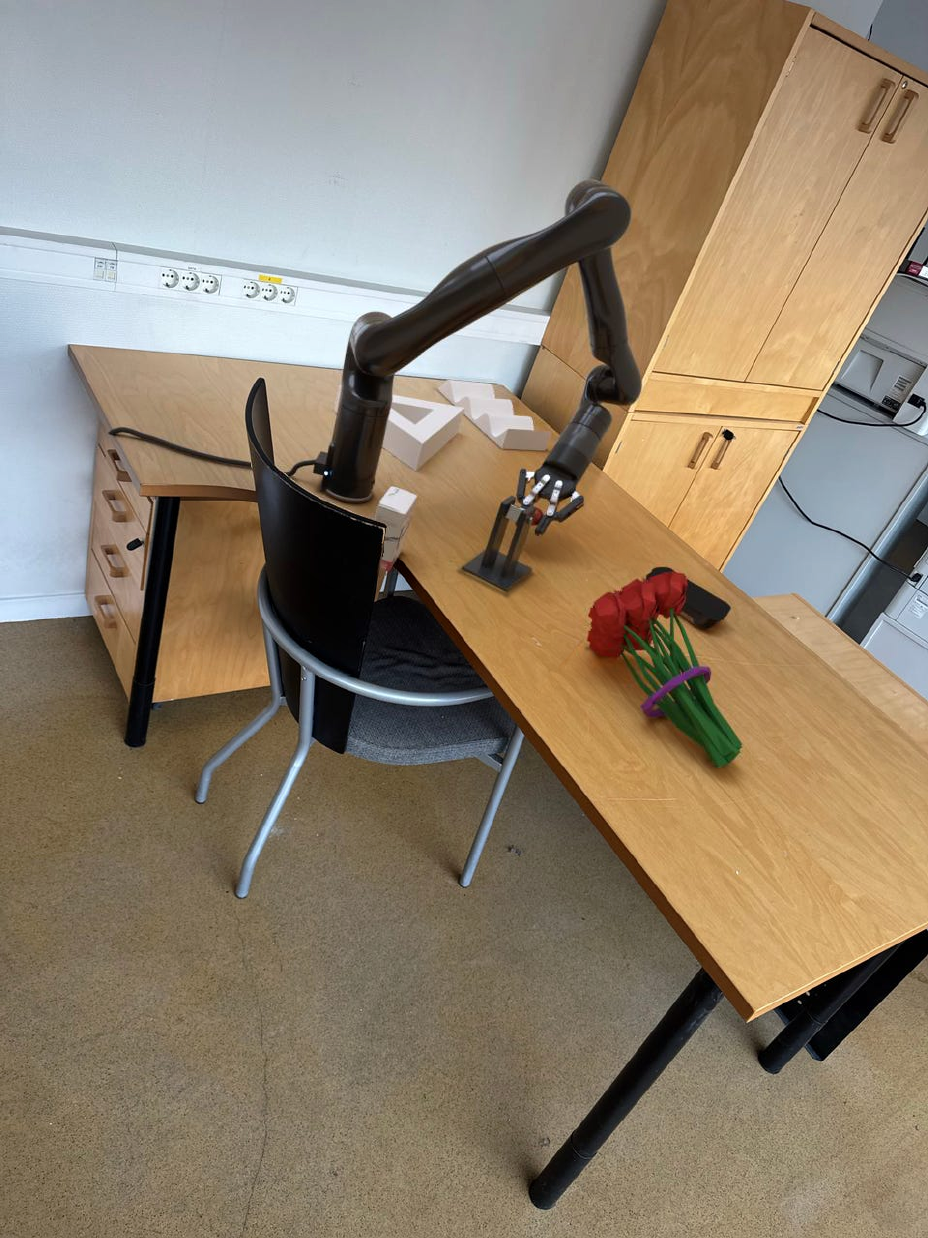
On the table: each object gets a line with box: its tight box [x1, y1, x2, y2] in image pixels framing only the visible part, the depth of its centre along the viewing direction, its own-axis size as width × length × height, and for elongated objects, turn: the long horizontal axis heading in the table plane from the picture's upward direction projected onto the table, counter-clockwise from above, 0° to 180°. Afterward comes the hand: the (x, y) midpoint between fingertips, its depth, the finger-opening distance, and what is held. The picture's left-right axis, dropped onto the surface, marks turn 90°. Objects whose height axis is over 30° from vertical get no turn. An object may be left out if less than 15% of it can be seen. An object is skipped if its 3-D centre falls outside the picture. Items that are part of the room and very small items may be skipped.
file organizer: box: [437, 379, 553, 452], centre depth 215 cm, size 13×35×5 cm, turn 28°
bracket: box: [461, 495, 538, 593], centre depth 146 cm, size 11×9×14 cm
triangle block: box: [333, 384, 465, 472], centre depth 192 cm, size 30×26×6 cm
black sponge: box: [645, 566, 732, 630], centre depth 157 cm, size 16×8×4 cm, turn 46°
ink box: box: [373, 485, 418, 573], centre depth 140 cm, size 9×5×12 cm, turn 168°
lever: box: [506, 504, 544, 527], centre depth 149 cm, size 15×3×3 cm, turn 151°
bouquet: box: [586, 570, 743, 769], centre depth 125 cm, size 20×16×30 cm
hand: (527, 529), depth 154 cm, fingers closed on lever, 3 cm apart
